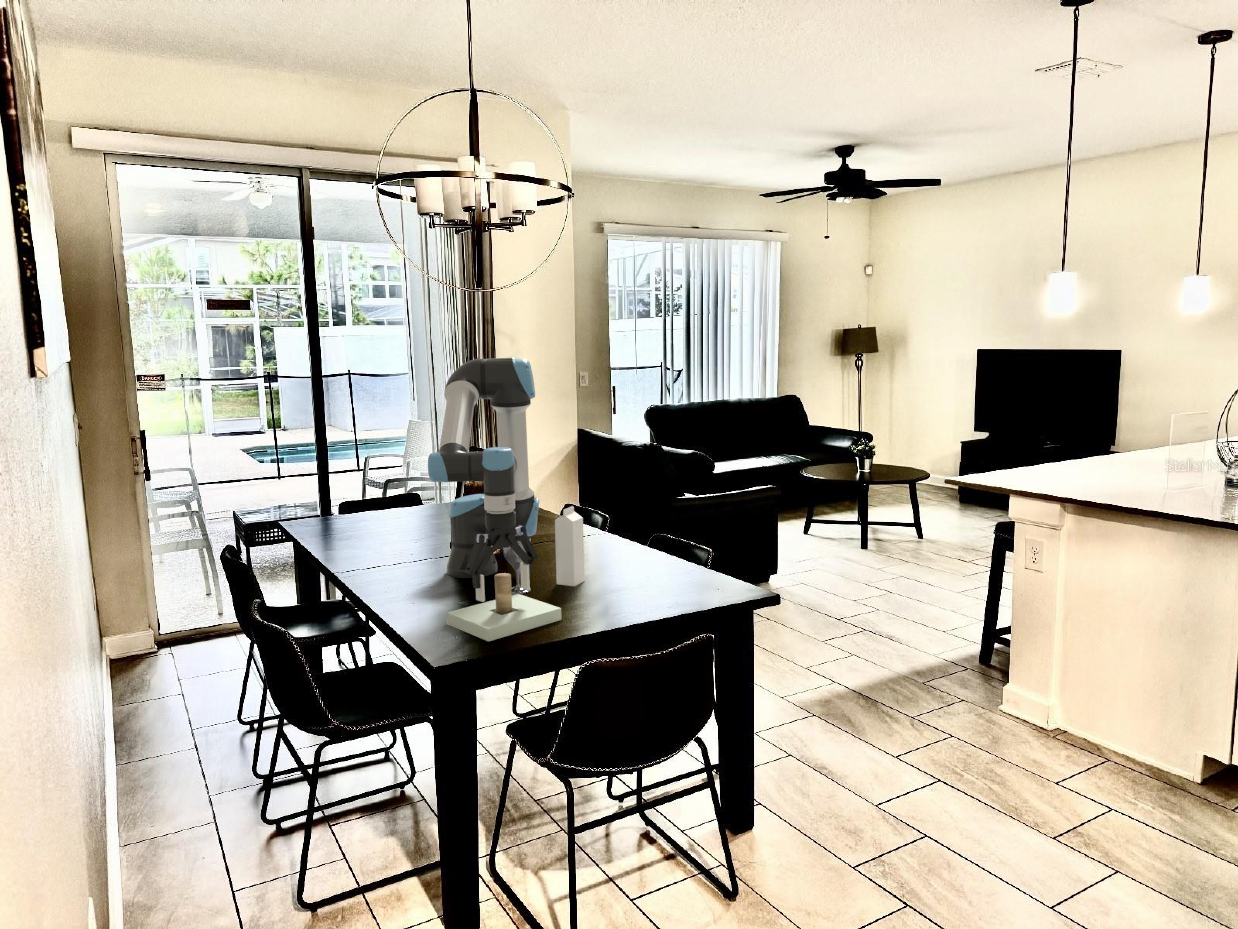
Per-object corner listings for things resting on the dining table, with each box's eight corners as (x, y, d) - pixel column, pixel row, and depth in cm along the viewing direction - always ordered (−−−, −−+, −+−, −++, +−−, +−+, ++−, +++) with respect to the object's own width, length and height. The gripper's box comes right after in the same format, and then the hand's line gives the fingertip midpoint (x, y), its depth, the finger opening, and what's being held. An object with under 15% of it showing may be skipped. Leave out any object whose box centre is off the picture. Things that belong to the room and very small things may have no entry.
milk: (556, 584, 251) (553, 509, 248) (566, 579, 257) (564, 505, 254) (575, 586, 249) (572, 510, 246) (585, 581, 254) (582, 506, 251)
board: (447, 624, 218) (446, 612, 218) (518, 604, 233) (518, 593, 233) (488, 641, 205) (488, 629, 205) (561, 619, 220) (561, 608, 220)
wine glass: (533, 585, 250) (531, 534, 248) (531, 593, 243) (529, 541, 240) (505, 586, 250) (503, 535, 248) (502, 594, 242) (500, 541, 240)
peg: (493, 622, 219) (491, 575, 217) (506, 618, 222) (504, 572, 220) (502, 625, 216) (500, 578, 215) (515, 621, 219) (514, 575, 217)
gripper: (465, 520, 204) (469, 609, 207) (549, 505, 221) (552, 587, 224) (447, 516, 209) (452, 602, 212) (531, 501, 226) (534, 581, 229)
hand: (503, 594), depth 218 cm, fingers open, 13 cm apart
